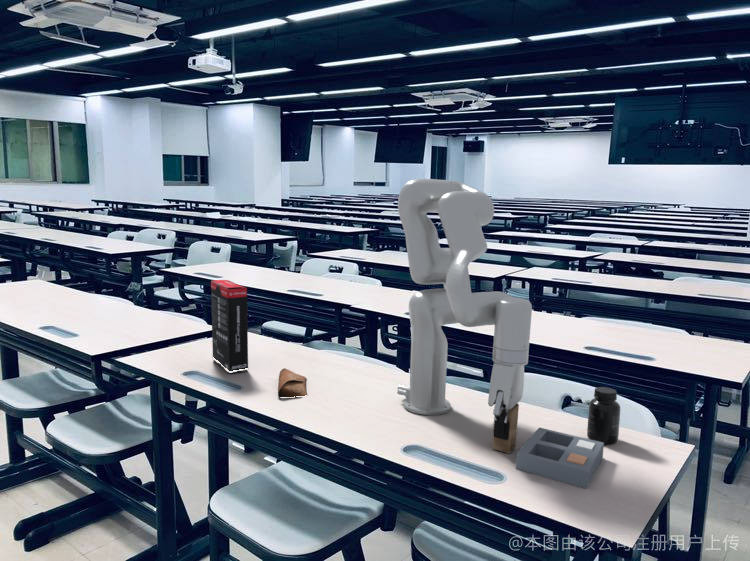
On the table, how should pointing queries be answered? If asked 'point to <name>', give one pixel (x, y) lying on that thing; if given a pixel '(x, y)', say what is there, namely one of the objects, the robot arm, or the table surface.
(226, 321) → the graphics card box
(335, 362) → the table surface
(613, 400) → the supplement bottle
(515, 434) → the plug
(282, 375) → the sunglasses case
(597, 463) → the socket block
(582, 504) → the table surface
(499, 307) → the robot arm
